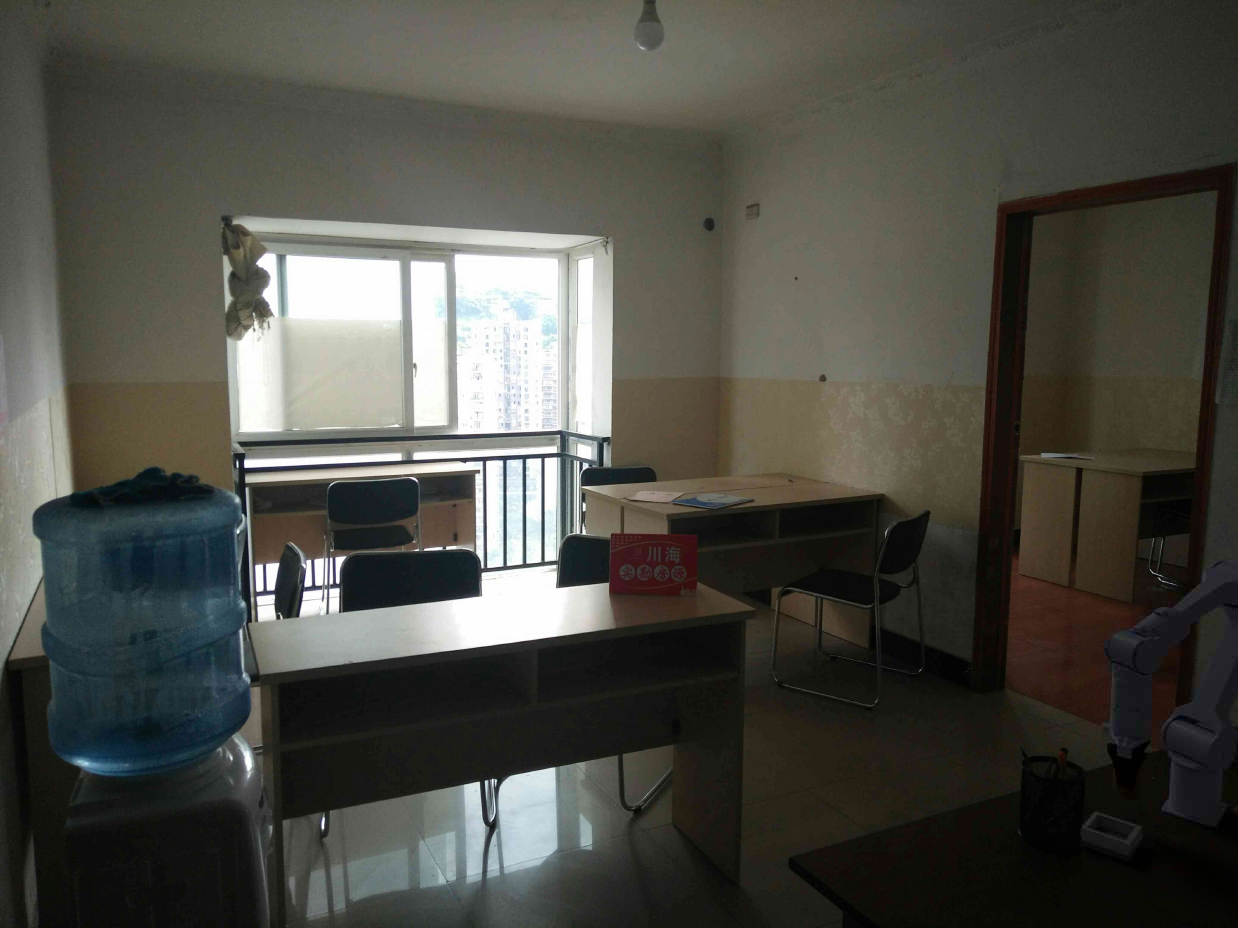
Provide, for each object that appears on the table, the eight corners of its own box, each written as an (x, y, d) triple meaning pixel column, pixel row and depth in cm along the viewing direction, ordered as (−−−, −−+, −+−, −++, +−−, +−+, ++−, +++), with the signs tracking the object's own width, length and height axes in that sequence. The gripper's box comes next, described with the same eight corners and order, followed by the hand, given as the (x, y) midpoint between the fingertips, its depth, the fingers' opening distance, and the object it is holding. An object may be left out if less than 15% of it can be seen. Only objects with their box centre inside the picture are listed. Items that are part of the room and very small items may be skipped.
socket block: (1094, 827, 145) (1094, 811, 145) (1141, 843, 140) (1142, 826, 140) (1080, 844, 140) (1080, 827, 140) (1128, 861, 135) (1129, 843, 135)
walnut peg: (1141, 791, 145) (1143, 751, 144) (1139, 801, 142) (1141, 761, 141) (1114, 784, 147) (1116, 745, 147) (1111, 794, 144) (1113, 754, 143)
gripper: (1108, 685, 151) (1105, 759, 153) (1097, 714, 139) (1093, 793, 141) (1156, 693, 147) (1152, 769, 148) (1148, 723, 135) (1144, 805, 137)
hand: (1127, 781), depth 144 cm, fingers closed on walnut peg, 4 cm apart
